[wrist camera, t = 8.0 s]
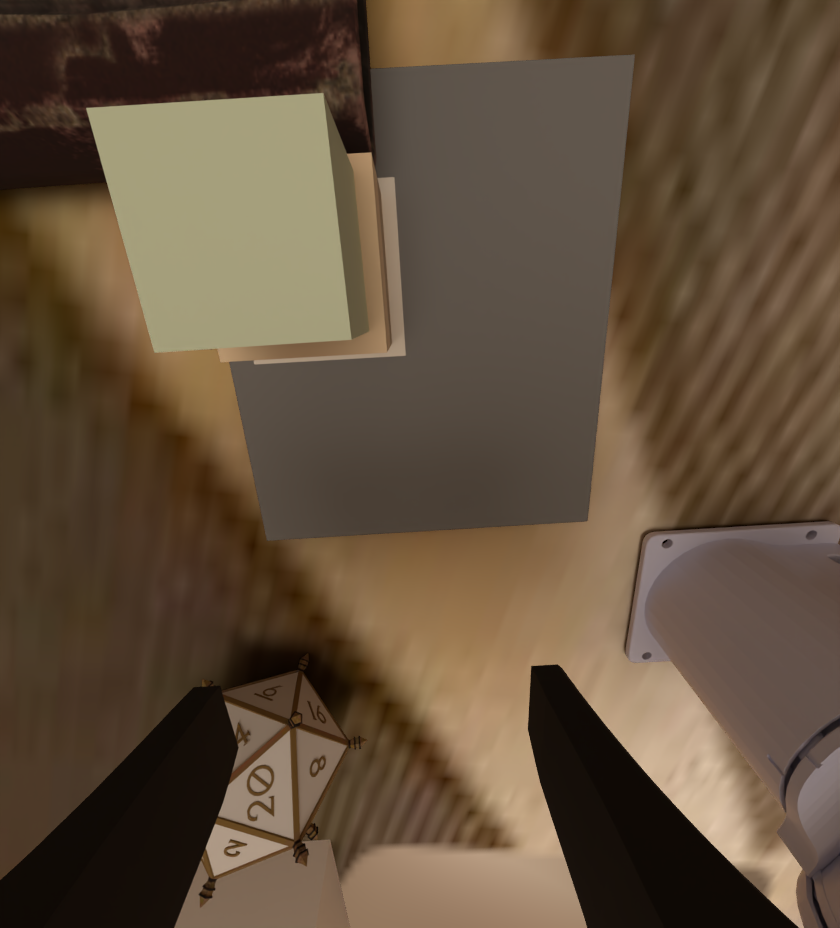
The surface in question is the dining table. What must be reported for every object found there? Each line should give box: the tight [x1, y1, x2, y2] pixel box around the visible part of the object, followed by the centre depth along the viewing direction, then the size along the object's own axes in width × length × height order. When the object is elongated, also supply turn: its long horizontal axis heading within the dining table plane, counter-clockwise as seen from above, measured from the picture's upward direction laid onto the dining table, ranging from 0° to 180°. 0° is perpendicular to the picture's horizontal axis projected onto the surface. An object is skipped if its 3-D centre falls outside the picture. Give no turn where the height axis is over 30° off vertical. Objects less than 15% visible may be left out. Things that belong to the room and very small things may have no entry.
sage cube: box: [86, 93, 369, 353], centre depth 9 cm, size 4×4×4 cm
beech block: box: [218, 153, 392, 362], centre depth 13 cm, size 5×5×4 cm
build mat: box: [229, 55, 635, 541], centre depth 16 cm, size 15×17×1 cm
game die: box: [199, 653, 367, 908], centre depth 19 cm, size 9×8×10 cm
